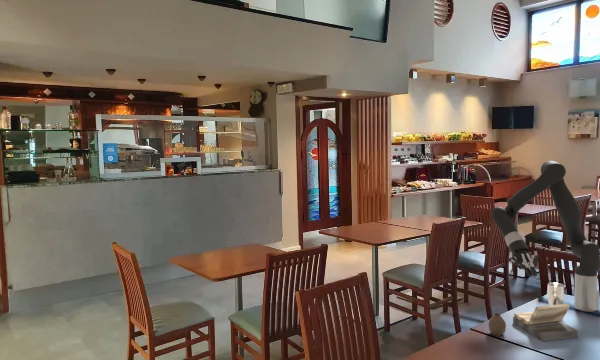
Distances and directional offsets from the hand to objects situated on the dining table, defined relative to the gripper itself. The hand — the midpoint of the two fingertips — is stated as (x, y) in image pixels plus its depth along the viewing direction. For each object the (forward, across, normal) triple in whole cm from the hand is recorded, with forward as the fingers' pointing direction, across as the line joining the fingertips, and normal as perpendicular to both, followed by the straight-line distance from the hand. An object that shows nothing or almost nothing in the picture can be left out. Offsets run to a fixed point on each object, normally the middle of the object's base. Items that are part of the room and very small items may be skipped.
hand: (533, 275), depth 204 cm
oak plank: (+18, 0, +2) cm, 18 cm away
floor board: (+21, 0, +10) cm, 23 cm away
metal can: (+12, +16, +20) cm, 28 cm away
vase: (+20, -22, +11) cm, 32 cm away
